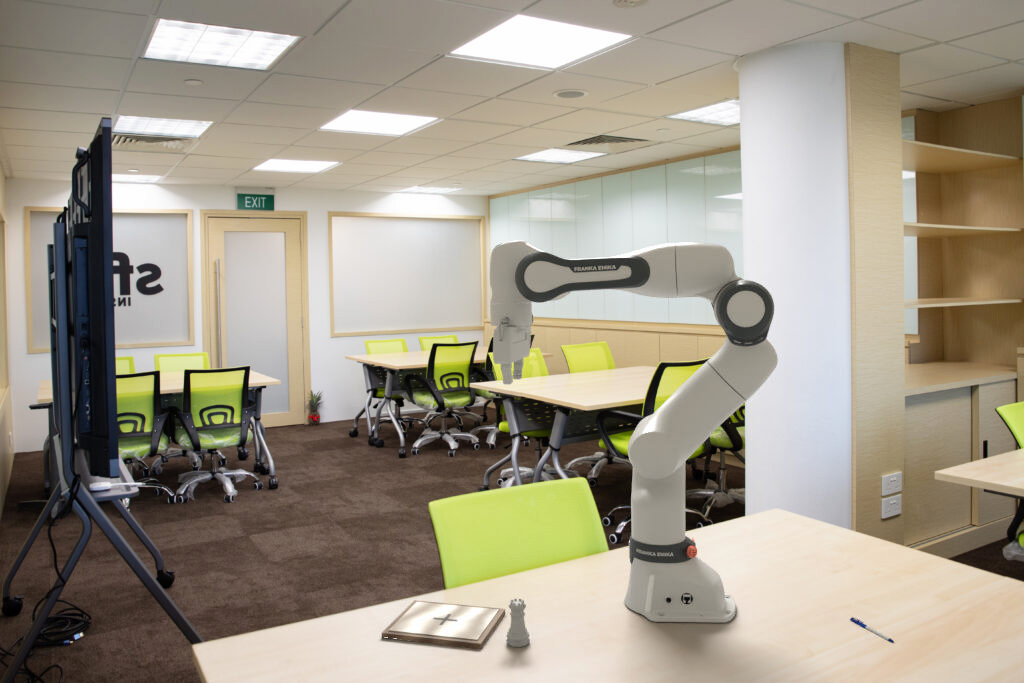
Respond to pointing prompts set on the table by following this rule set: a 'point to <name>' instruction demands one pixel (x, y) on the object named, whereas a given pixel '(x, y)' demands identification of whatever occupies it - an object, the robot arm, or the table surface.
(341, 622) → the table surface
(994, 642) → the table surface
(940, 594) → the table surface
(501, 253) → the robot arm
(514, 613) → the rook chess piece
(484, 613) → the brown-bordered mat
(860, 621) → the ballpoint pen
